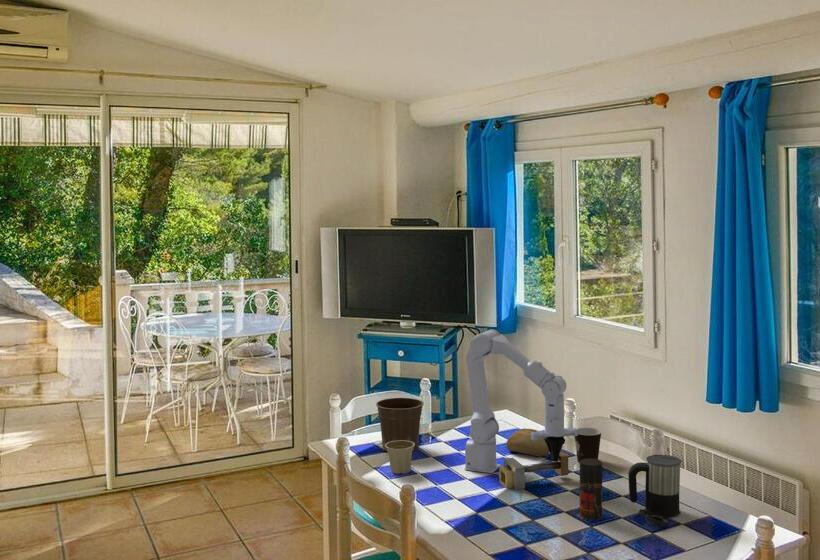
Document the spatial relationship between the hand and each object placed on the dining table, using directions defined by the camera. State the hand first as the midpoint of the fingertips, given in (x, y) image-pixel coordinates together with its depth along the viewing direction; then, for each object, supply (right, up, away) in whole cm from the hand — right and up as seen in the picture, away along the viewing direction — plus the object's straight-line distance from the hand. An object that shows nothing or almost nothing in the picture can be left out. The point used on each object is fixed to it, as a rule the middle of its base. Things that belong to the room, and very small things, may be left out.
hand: (554, 460), depth 261 cm
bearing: (-13, -6, -3) cm, 14 cm away
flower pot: (-47, -6, +11) cm, 49 cm away
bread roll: (-4, -3, +26) cm, 27 cm away
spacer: (-15, -7, -3) cm, 17 cm away
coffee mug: (+14, -4, +18) cm, 23 cm away
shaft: (-4, -4, -1) cm, 6 cm away
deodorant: (+5, -9, -28) cm, 30 cm away
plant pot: (-47, -3, +34) cm, 58 cm away
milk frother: (+23, -9, -31) cm, 39 cm away
